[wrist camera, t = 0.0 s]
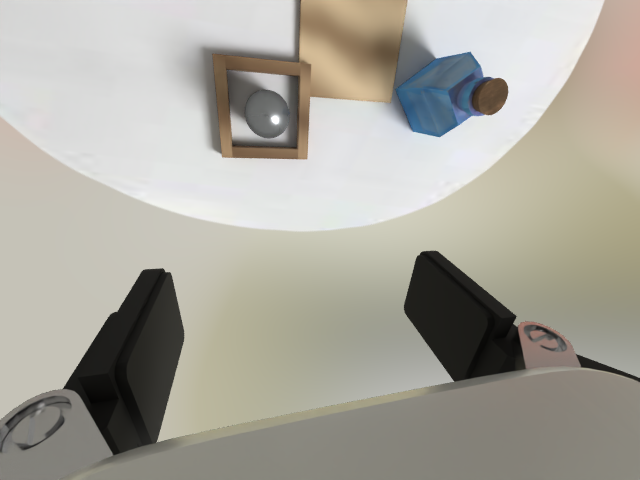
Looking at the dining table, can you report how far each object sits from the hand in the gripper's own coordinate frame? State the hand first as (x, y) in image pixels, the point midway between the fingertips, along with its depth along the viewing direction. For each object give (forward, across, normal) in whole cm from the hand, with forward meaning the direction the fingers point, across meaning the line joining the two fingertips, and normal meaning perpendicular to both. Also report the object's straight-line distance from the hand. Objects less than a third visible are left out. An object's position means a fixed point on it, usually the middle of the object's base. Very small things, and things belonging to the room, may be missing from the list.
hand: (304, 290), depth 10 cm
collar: (+29, 0, -5) cm, 29 cm away
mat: (+29, -10, -13) cm, 33 cm away
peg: (+29, 0, -5) cm, 29 cm away
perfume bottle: (+29, -21, -8) cm, 37 cm away
